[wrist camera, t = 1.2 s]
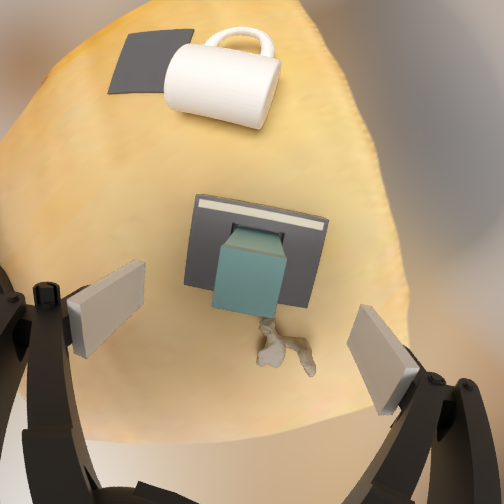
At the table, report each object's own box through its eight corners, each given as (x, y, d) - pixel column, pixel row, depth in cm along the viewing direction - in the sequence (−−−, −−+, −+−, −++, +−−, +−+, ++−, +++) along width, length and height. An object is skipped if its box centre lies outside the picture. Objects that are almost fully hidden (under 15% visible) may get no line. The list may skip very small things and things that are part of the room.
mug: (260, 137, 29) (258, 118, 21) (179, 117, 28) (154, 97, 21) (289, 53, 26) (294, 19, 18) (212, 38, 26) (199, 4, 18)
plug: (231, 263, 31) (211, 306, 20) (238, 224, 30) (220, 246, 19) (270, 271, 31) (273, 318, 20) (278, 232, 30) (287, 259, 19)
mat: (108, 94, 28) (107, 93, 27) (129, 35, 25) (128, 34, 25) (174, 92, 28) (173, 91, 27) (194, 30, 25) (193, 28, 25)
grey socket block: (190, 276, 32) (183, 285, 29) (202, 194, 30) (195, 194, 27) (303, 298, 32) (307, 308, 29) (323, 217, 30) (329, 220, 27)
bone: (226, 340, 33) (258, 360, 23) (258, 302, 35) (299, 307, 26) (271, 376, 34) (312, 401, 25) (299, 340, 36) (346, 354, 27)
